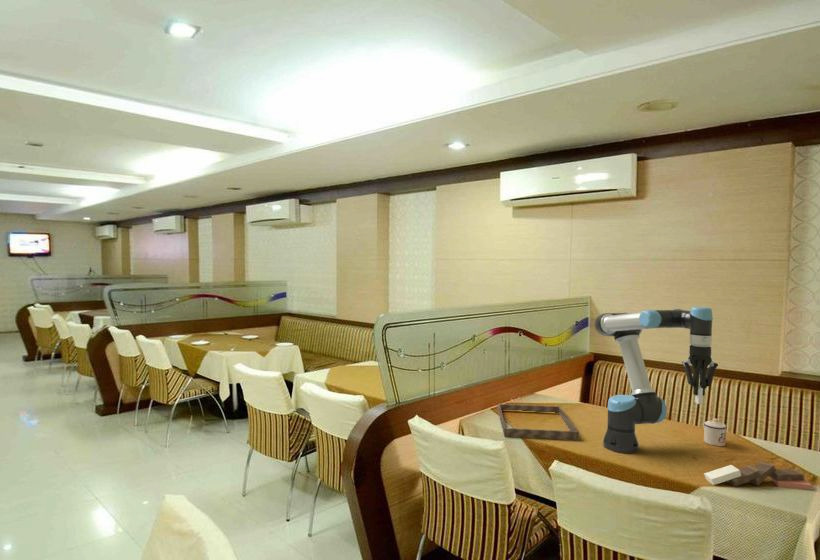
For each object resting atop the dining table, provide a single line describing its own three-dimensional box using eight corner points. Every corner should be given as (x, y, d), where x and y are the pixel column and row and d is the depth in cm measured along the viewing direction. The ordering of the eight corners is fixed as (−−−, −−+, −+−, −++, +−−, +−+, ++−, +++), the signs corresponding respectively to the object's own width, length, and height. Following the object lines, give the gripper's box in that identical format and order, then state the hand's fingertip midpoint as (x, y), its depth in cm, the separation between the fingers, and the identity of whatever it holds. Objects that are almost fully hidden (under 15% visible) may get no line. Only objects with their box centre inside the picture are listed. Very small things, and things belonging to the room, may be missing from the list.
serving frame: (504, 436, 230) (504, 428, 229) (497, 410, 271) (497, 403, 271) (578, 440, 226) (578, 432, 226) (560, 413, 268) (560, 406, 267)
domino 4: (777, 474, 181) (804, 474, 181) (766, 469, 186) (793, 468, 186) (777, 480, 181) (804, 480, 181) (766, 475, 186) (792, 474, 186)
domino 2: (733, 481, 179) (758, 470, 180) (723, 475, 184) (748, 465, 185) (735, 486, 179) (760, 476, 180) (725, 480, 184) (750, 470, 185)
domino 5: (778, 481, 180) (812, 485, 177) (772, 476, 185) (805, 479, 182) (778, 487, 180) (812, 491, 177) (771, 482, 185) (804, 485, 182)
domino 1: (711, 479, 181) (739, 470, 180) (704, 473, 186) (731, 464, 185) (713, 485, 181) (741, 476, 180) (705, 479, 186) (733, 470, 185)
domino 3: (755, 479, 179) (773, 465, 183) (742, 475, 184) (760, 461, 188) (757, 485, 180) (776, 470, 183) (745, 481, 184) (762, 466, 188)
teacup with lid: (722, 448, 218) (723, 423, 218) (700, 442, 225) (701, 418, 225) (730, 442, 226) (731, 418, 226) (709, 436, 233) (709, 413, 233)
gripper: (687, 346, 187) (686, 405, 188) (722, 347, 186) (720, 406, 187) (679, 343, 195) (677, 399, 195) (712, 344, 193) (710, 401, 194)
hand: (698, 403), depth 191 cm, fingers closed
